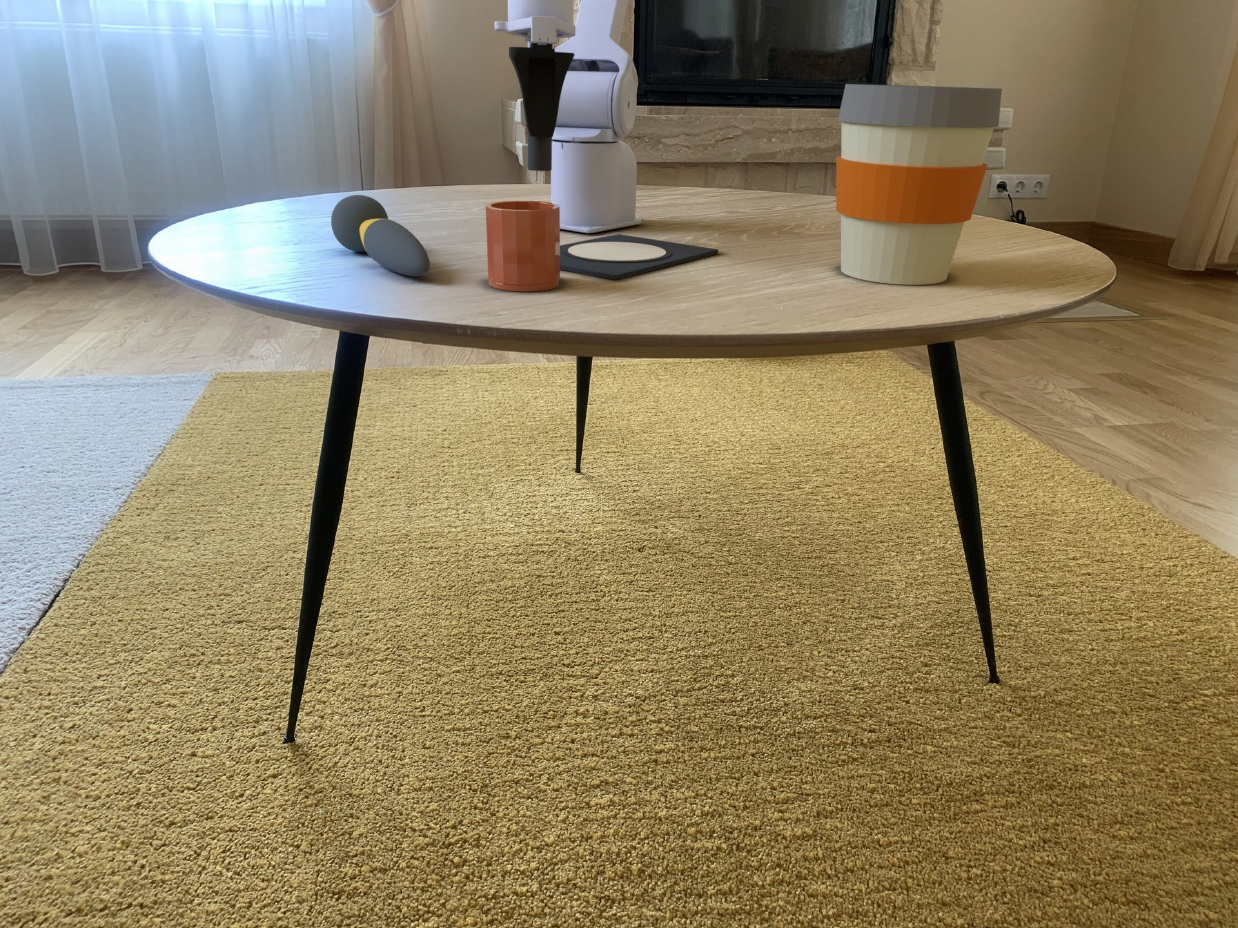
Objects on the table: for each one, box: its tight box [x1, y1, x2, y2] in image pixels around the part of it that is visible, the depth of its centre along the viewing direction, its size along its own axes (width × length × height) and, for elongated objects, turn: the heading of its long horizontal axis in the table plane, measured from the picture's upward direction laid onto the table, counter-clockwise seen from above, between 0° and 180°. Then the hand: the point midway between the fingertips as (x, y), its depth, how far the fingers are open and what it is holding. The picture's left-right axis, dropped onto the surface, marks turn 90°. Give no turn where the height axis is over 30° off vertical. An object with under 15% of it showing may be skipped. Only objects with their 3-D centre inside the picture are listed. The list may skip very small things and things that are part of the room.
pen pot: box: [485, 200, 561, 293], centre depth 68 cm, size 6×6×6 cm
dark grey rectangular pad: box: [560, 233, 719, 281], centre depth 80 cm, size 16×12×1 cm
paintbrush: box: [330, 194, 431, 277], centre depth 74 cm, size 20×5×5 cm, turn 38°
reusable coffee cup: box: [835, 83, 1003, 286], centre depth 73 cm, size 13×13×15 cm
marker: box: [527, 130, 553, 172], centre depth 79 cm, size 2×2×9 cm
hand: (540, 136), depth 79 cm, fingers closed on marker, 2 cm apart
